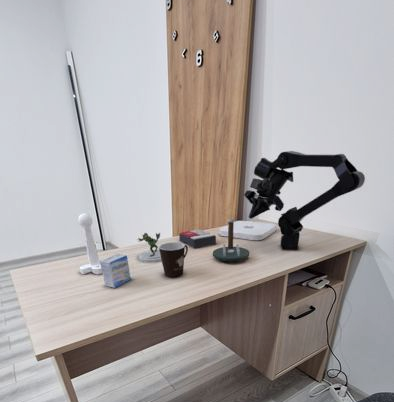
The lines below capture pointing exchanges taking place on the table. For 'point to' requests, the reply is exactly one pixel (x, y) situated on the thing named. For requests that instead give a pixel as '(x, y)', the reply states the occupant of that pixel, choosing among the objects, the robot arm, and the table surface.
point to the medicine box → (115, 270)
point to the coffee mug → (173, 258)
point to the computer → (249, 230)
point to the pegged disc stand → (231, 248)
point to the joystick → (89, 247)
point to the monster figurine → (151, 254)
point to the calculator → (197, 238)
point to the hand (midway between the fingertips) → (249, 217)
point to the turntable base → (231, 261)
